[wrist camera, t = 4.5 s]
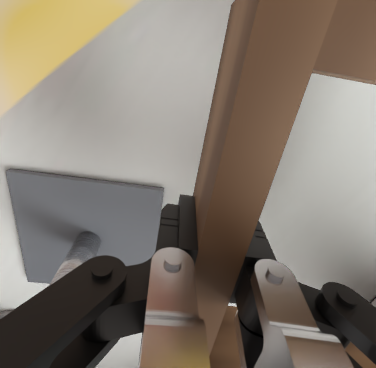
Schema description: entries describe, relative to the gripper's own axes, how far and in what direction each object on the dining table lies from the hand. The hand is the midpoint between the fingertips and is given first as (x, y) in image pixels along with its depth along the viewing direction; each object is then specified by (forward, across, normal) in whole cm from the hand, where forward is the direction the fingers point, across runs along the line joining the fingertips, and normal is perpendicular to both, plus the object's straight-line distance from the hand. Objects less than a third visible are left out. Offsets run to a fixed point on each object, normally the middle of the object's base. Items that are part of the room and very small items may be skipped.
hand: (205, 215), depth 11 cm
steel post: (+11, +9, +12) cm, 19 cm away
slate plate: (+11, +9, +12) cm, 19 cm away
